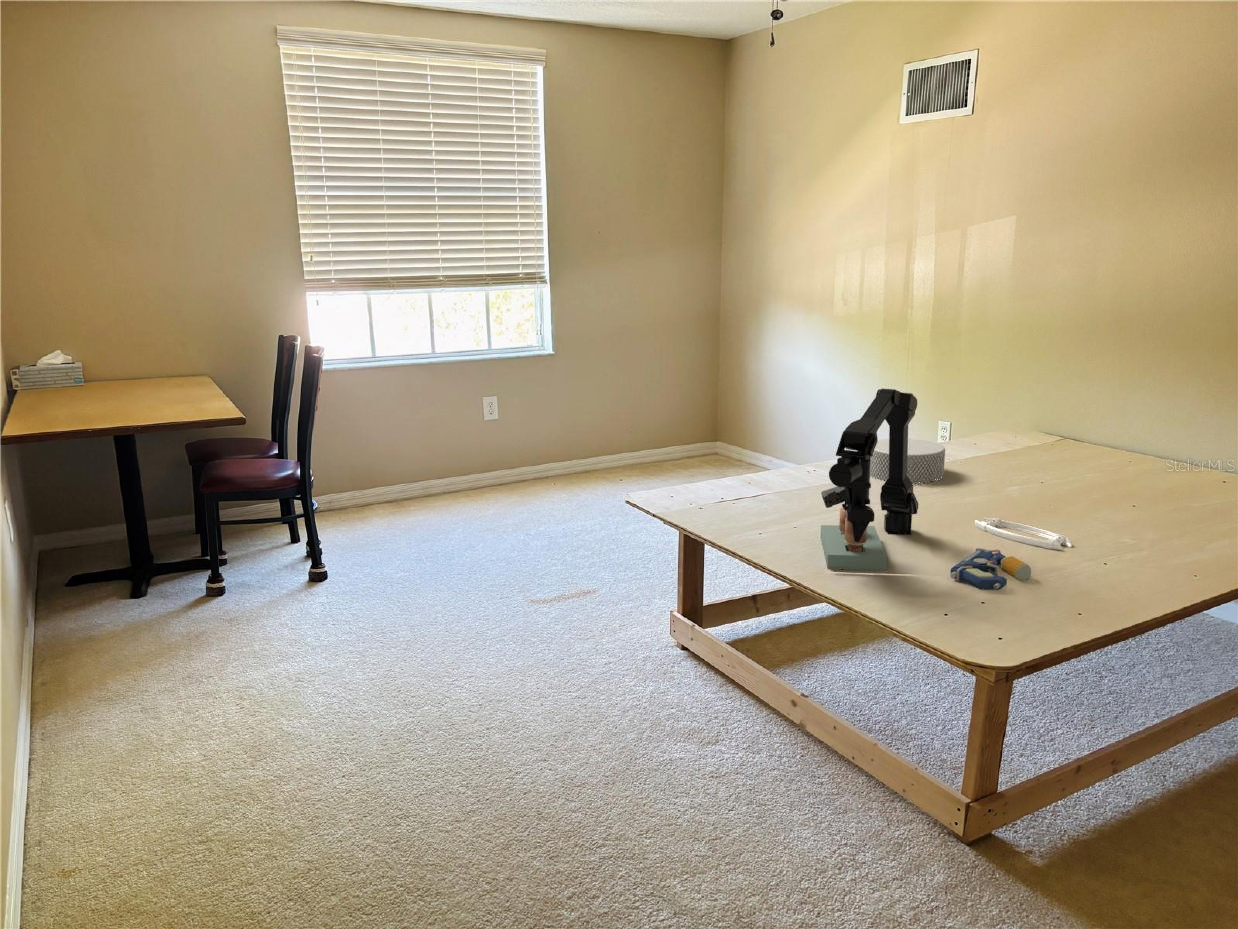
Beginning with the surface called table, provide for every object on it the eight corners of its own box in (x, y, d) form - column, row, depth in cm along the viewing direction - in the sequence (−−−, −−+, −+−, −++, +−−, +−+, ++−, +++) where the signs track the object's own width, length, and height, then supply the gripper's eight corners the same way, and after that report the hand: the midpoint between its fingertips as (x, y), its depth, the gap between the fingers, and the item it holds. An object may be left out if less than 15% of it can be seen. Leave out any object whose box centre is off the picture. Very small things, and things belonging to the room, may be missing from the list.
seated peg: (858, 540, 224) (859, 507, 222) (860, 547, 219) (861, 513, 217) (837, 540, 225) (838, 506, 222) (839, 547, 220) (840, 512, 217)
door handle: (989, 523, 238) (1077, 546, 217) (968, 530, 232) (1056, 554, 212) (990, 514, 237) (1078, 536, 217) (968, 521, 232) (1056, 544, 211)
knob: (882, 462, 306) (856, 477, 287) (883, 435, 304) (857, 449, 285) (952, 471, 292) (930, 488, 272) (954, 442, 289) (931, 457, 270)
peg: (864, 551, 211) (866, 515, 209) (867, 559, 206) (868, 522, 204) (843, 551, 212) (844, 515, 210) (845, 558, 207) (846, 521, 205)
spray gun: (1041, 571, 201) (978, 558, 212) (1042, 554, 200) (979, 542, 210) (1007, 600, 187) (942, 584, 197) (1008, 582, 186) (942, 567, 196)
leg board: (873, 540, 226) (874, 526, 225) (886, 571, 204) (886, 556, 203) (820, 538, 228) (820, 525, 227) (827, 570, 206) (827, 554, 205)
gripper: (821, 467, 214) (819, 525, 218) (826, 487, 196) (825, 550, 200) (866, 467, 212) (863, 526, 216) (875, 488, 195) (873, 551, 199)
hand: (855, 537), depth 208 cm, fingers closed on peg, 5 cm apart
